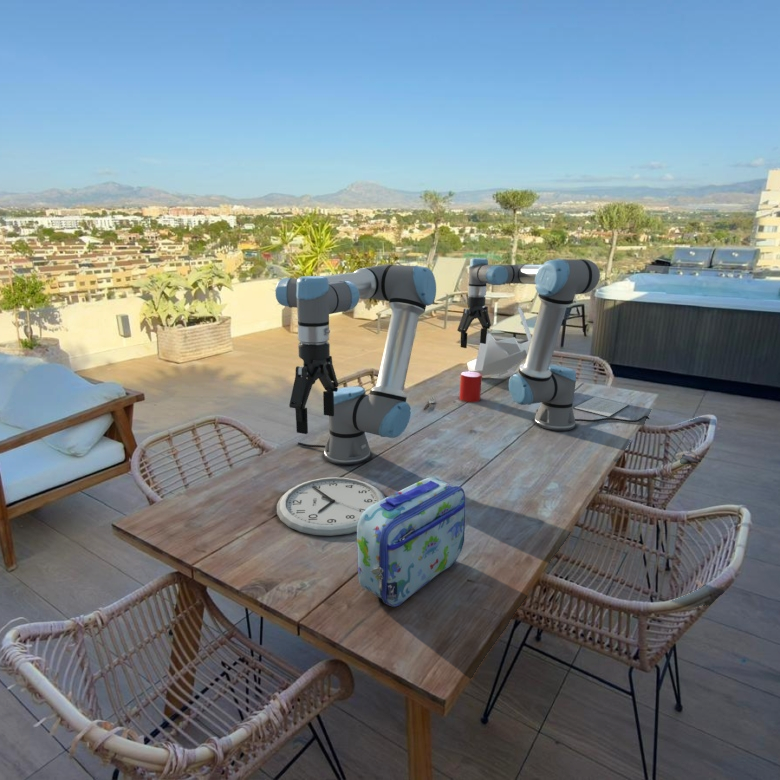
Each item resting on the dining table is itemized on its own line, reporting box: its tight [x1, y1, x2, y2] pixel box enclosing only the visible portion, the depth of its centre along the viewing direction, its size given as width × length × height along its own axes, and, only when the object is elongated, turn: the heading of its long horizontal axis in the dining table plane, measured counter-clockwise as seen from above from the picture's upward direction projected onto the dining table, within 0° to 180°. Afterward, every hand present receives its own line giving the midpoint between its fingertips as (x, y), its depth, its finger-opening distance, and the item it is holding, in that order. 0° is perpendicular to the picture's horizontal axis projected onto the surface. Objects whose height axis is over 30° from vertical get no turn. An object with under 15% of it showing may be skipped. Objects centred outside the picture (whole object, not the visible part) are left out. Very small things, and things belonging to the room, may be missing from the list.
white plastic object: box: [466, 306, 532, 377], centre depth 259 cm, size 37×45×31 cm
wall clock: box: [276, 476, 386, 537], centre depth 142 cm, size 30×2×30 cm
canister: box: [459, 370, 483, 403], centre depth 232 cm, size 9×9×12 cm
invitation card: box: [573, 396, 629, 418], centre depth 226 cm, size 21×1×15 cm
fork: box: [423, 395, 437, 411], centre depth 224 cm, size 3×16×2 cm, turn 160°
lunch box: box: [356, 476, 466, 608], centre depth 110 cm, size 26×11×21 cm, turn 134°
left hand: (316, 423), depth 133 cm, fingers open, 13 cm apart
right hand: (473, 345), depth 227 cm, fingers open, 13 cm apart
